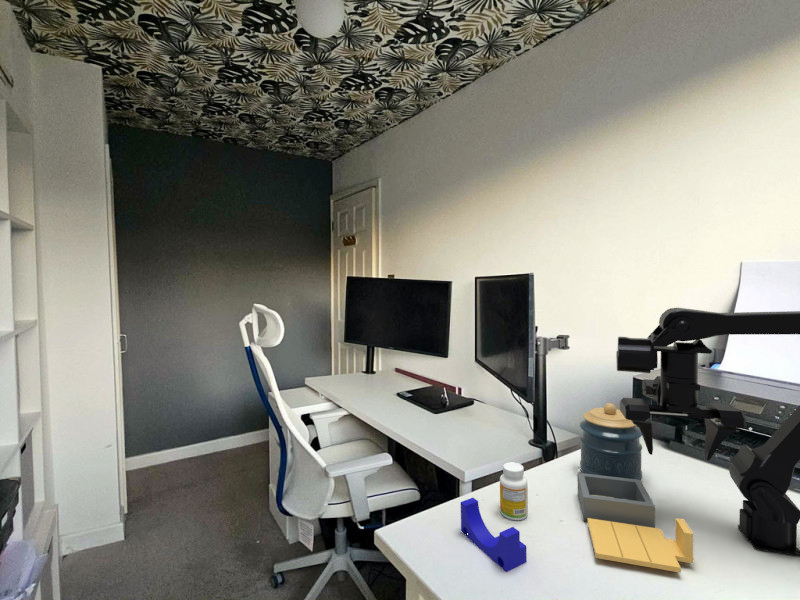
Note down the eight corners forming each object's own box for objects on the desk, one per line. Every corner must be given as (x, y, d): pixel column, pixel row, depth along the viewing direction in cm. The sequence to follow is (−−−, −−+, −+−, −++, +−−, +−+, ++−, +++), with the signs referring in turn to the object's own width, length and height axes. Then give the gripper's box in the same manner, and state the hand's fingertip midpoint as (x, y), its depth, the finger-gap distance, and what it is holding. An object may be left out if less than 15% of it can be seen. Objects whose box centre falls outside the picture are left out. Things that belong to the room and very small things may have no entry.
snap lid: (677, 541, 70) (677, 509, 70) (700, 582, 60) (700, 546, 60) (587, 527, 75) (587, 497, 74) (595, 563, 65) (595, 529, 65)
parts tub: (640, 503, 82) (640, 479, 82) (655, 532, 72) (655, 506, 72) (577, 495, 86) (577, 472, 85) (583, 522, 76) (583, 497, 76)
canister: (599, 459, 102) (599, 392, 101) (653, 480, 91) (653, 405, 90) (568, 473, 95) (568, 401, 94) (622, 498, 84) (622, 417, 83)
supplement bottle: (507, 502, 83) (506, 458, 83) (532, 511, 80) (531, 465, 80) (495, 514, 79) (494, 467, 79) (521, 524, 76) (520, 475, 75)
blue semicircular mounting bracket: (526, 563, 66) (526, 528, 66) (506, 573, 64) (505, 537, 64) (479, 525, 76) (479, 495, 76) (461, 532, 74) (460, 502, 74)
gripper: (718, 367, 78) (717, 444, 79) (614, 364, 84) (614, 435, 85) (748, 382, 68) (747, 470, 69) (626, 376, 74) (626, 457, 74)
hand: (678, 456), depth 74 cm, fingers open, 9 cm apart
